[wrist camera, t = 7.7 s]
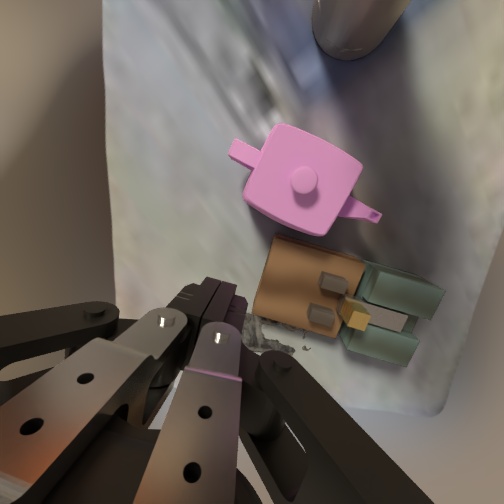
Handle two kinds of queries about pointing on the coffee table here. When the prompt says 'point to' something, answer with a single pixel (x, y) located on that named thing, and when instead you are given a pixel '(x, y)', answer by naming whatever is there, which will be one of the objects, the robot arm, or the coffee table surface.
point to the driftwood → (256, 339)
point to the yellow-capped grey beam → (369, 314)
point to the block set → (329, 292)
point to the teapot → (301, 180)
